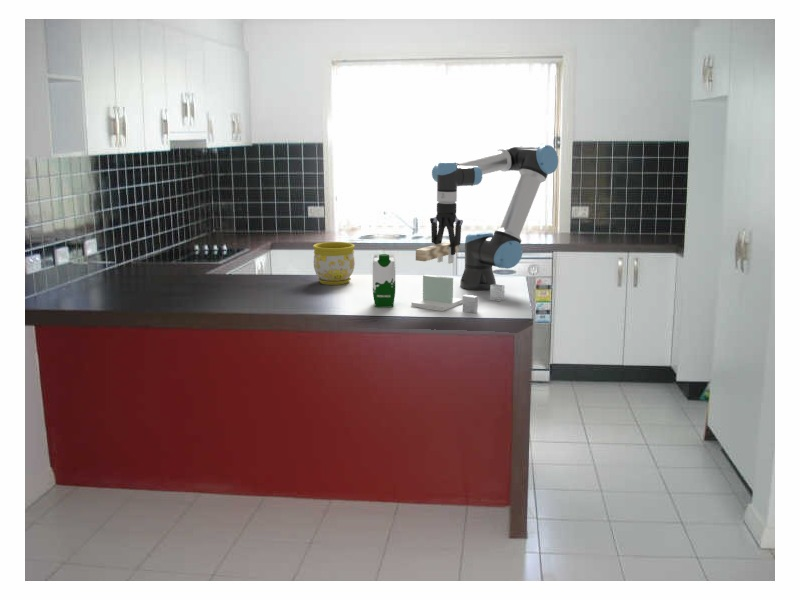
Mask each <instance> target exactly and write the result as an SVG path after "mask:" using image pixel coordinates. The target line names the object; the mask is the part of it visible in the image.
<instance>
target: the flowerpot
mask: <svg viewBox="0 0 800 600" xmlns="http://www.w3.org/2000/svg"><path fill="white" fill-rule="evenodd" d="M355 247H356V245H355V244H353V243H351V242H347V241H346V242H343V241H327V242H326V241H325V242H317V243H315V244H313V245H312V249H314V251H313V253H314V256H313V269H314V272H315V274H316V275H317V277H318V278H317V280H318V281H319V283H320V284H321V285H322V284H323V285H326V286H341V285H347V284H348V283H349V282H350V281H351V279H352V278H351V276H352V274H353V272H354V269H355V265H356V264H355V262H356V261H355V255H354V253H355V250H354V249H355Z"/></svg>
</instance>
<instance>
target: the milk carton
mask: <svg viewBox="0 0 800 600" xmlns="http://www.w3.org/2000/svg"><path fill="white" fill-rule="evenodd" d="M372 297H373V302H374V307H375V308H394V304H395V297H396V261H395V258H394V257H390V254H389V253H384V254H383V253H382V254H381V253H380V254H378V257H374V258H373V262H372Z"/></svg>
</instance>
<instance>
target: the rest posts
mask: <svg viewBox="0 0 800 600" xmlns="http://www.w3.org/2000/svg"><path fill="white" fill-rule="evenodd" d="M489 291H490V292H489V300H490V301H494V302H496V301H497V302H503V301H505V285H502V284H497V283H496V284H492V285H490V289H489ZM478 298H479V296H477V295H472V294H471V295H469V294H464V295H462V299H463V303H462V312H463V313H470V314H476V313H478V302H479V301H478Z"/></svg>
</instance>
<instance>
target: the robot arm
mask: <svg viewBox="0 0 800 600" xmlns="http://www.w3.org/2000/svg"><path fill="white" fill-rule="evenodd" d="M558 166H559V156H558V152H557V151H556V149H555V147H553V146H552V145H549V144H545V143H524V142H523V143H519V144H515V145H511V146H508V147H507V146H506V147H502V148H500V149H497V151H496V152H492V153H489V154H485V155H481V156H480V155H479V156H476V157H475V156H474V157H472V158H467V159H462V160H459V161H439V162H438V164H435V165H434V166H433V168H432V170H431V177H432V179H433V180H434V182H436V187H437V188H436V189H437V190H436V202H437V203H436V212H437V213H436V216H435V217H430V219H429V221H430V224H431V226H430V227H431V233H430V234H431V244H433V245H436V244H440V243H443V238H444V231H445V229H447V231H448V238H449V239H448V240H449V241H450V247H449V252H448V255H447V256H448V258H447V259H448V262H447V263H448V264H449V265H451V264H453V263H454V255H456V253H455V247H456V246H457V245H459V246H461V239H462V238H461V237H462V236H461V235H462V225H463V223H464V220H463V219H459V218H458V217H457V203H456V202H457V201H458V200H457V198H458V193H457V192H458V187H467V186H471V187H473V186H478V185H479V184H481V182H482V180H483V175H486V174H490V173H495V172H498V171H501V172H508V171H509V172H510V171H517V172H519V174H520V177H519V180H518V182H517V185H516V187H515V190H514V193H513V195H512V197H511V200H510V203H509V204H508V207H507V210H506V212H505V215H504V218H503V220H502V223H501V224H500V228H498V229H496V230H494V233H493V232H491V231H490V232H488V231H487V232H476V233H475V232H474V233H468V234H467V235H466V236H465V242H464V270H463V273H462V276H461V278H460V285H459V287H461V288H462V289H466V290H474V291H486V290H490V285H492V284H497V281H496V278H495V274H494V270H493V267H497V268H499V269H508V270H509V269H512V268H514V267H516V266H517V265H518V264H519V263H520V261H521V259H522V257H523V247H522V245H521V244H522V239H521V233H522V230H523V228H524V226H525V223H526V221H527V218H528V216H529V214H530V210H531V208H532V205H533V203H534V201H535V198H536V196H537V193H538V191H539V188H540V186H541V184H542V183H543V182H546V181H547V178H548V175H550V174H553V173H555V172H556V171H557V169H558ZM454 228H455V229H454ZM443 261H444V256H442V257H439V258H437V263H442V262H443Z"/></svg>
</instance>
